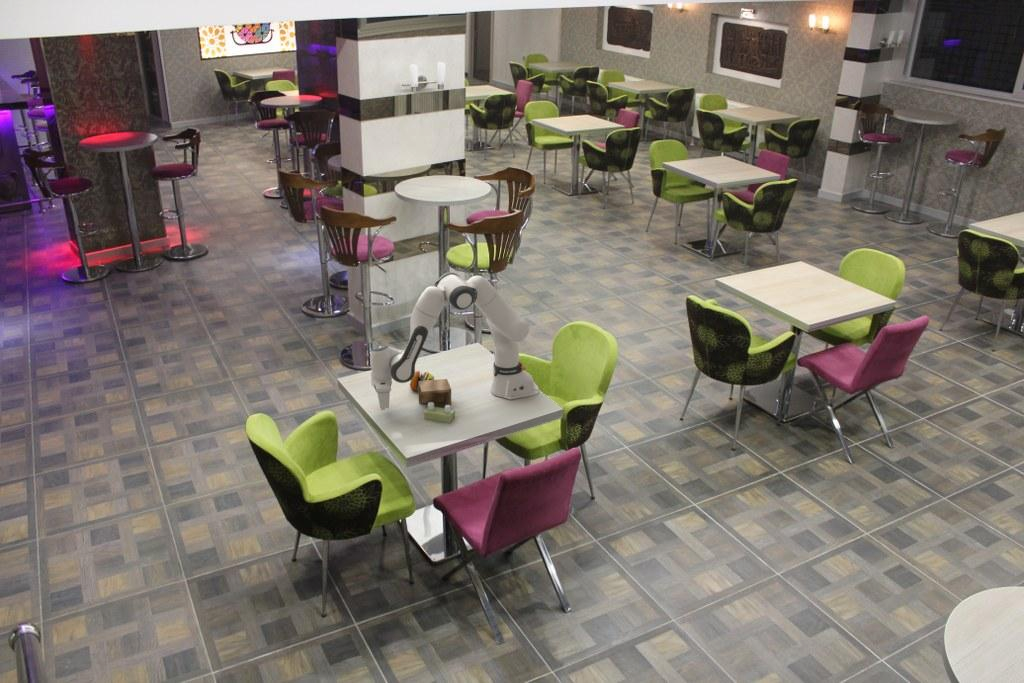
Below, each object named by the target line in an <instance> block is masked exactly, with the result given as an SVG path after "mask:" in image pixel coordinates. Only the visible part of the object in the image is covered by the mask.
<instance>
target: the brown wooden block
mask: <svg viewBox="0 0 1024 683" xmlns="http://www.w3.org/2000/svg"><path fill="white" fill-rule="evenodd" d="M418 388H419V391H418V404H419V405H420V404H428V403H429V402H433V403H439V402H444V403H445V405H450V406H451V407H452V388H451V386H450V383H449V380H448V378H443V379H442V378H441V379H434V380H427V381H418Z"/></svg>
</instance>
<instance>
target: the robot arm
mask: <svg viewBox="0 0 1024 683" xmlns="http://www.w3.org/2000/svg"><path fill="white" fill-rule="evenodd" d="M449 303H450V305H451V307H453V308H454V309H456V310H459V311H463V310H467V309H468V308H470V307H471V306H472V305H473V304H475V306H476V307H477V308H478V310H479V311H480V312H481V314H483V316H484V317H485V323H486V324H487V326H488V328H489V330H490V334H491V337H492V338H491V339H492V341H493V348H494V362H493V367H492V374H493V379H492V383H491V387H490V393H491V394H492V395H494V396H497V397H500V398H505V399H507V400H509V401H511V400H516V399H522V398H526V397H532V396H537V395H538V394H539V392H540V388H539V386H538V385H537V384H536V383H535V381H534V377H533V376H532V375H531V374H530V373H529V372H527V371H526V366H525V365H523V363H522V362H521V361H520V360H519V358H520V357H519V356H520V354H519V351H520V348H519V345H518V343H517V342H522V341H524V340H526V339H527V337H528V335H529V334H530V333H529V332H530V326H529V323H527V321H525V319H524V318H522V317H521V315H519V314H518V312H517V311H516V310H515V309H514V308H513V307H512V306H511V305H509V303H507V302H506V300H505V299H504V298H503V297H502V296H501V295H500V293H499V291H497V289H496V288H495V287H494V286H493V285H492V283H491V282H489V281H488V280H487V279H486V278H485V277H484V276H481V275H473V276H471V277H470V278H469V279H468V280H464V279H462V277H461V276H460V275H458V274H457V273H454V272H452V271H446V272H445V273H443V274H442V275H440V277H439V278H438V279H437V281H435V283H434V285H430V286H428V287H426V288H425V289H424V291H422V293H421V295H420V296H419V298H418V299H417V301H416V304H415V305H414V307H413V309H412V312H411V315H410V320H409V323H410V324H409V326H410V327H409V328H410V332H409V340H408V341H407V344H406V347H405V349H398V348H394V347H392V346H390V345H389V344H386V343H381V344H377V345H375V346H374V347H373V348H371V351H370V368H371V373H370V378H371V386H372V387H373V388H374V390H375V392H376V393H377V399H378V402H379V403H378V404H379V408H380V410H381V411H386V409H389V407H390V397H391V396H390V395H391V393H390V392H392V384H393V381H395V382H396V383H399V384H405V383H407V382H411V379H412V378H413V377H414V374H415V372H416V364H417V361H418V358H419V357H420V353H421V352H422V349H423V346H424V344H425V342H426V340H427V338H428V336H429V334H430V333H431V331H432V329H433V327H434V326H435V324H436V322H437V320H438V319H439V317H440V315H441V313H442V310H443V308H444V307H445V306H446V305H447V304H449Z"/></svg>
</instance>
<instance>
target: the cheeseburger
mask: <svg viewBox="0 0 1024 683" xmlns="http://www.w3.org/2000/svg"><path fill="white" fill-rule="evenodd" d="M427 380H435V376H434V375H433V374H431V373H430V372H429V371H425V372H424V373H422V372H420V371H419V370H418V371H415V374H414V377H413V378H412V379H411V380H410V381H409V382H410V383H409V387H410V389H411V390H412V391H414V392H415V391H417V392H419V388H418V381H427Z"/></svg>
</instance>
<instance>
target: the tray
mask: <svg viewBox="0 0 1024 683" xmlns="http://www.w3.org/2000/svg"><path fill="white" fill-rule="evenodd" d="M455 412H456V410H454V409H452V405H451V406H450V405H446V404H445V406H444V407H437V406H435V402H429V403H427V408H426V409H425V410H424V411H423V419H426V420H429V421H436V422H441V423H447V424H450V423H451V422H452V421H453V420H454V419H455V417H456V413H455Z"/></svg>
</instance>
